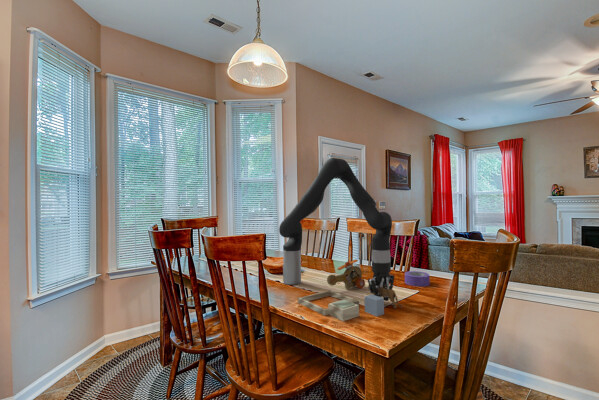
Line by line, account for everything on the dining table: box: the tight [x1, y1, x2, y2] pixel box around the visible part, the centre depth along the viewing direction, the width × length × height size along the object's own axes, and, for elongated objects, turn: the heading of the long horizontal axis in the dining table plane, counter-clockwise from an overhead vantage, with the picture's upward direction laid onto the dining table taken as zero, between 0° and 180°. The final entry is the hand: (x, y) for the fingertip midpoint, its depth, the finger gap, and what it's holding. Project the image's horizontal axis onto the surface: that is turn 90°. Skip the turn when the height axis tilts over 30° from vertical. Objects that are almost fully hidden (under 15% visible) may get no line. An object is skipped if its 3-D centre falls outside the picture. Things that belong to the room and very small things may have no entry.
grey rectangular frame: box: [297, 290, 360, 322], centre depth 121 cm, size 26×18×4 cm
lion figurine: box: [367, 285, 404, 309], centre depth 123 cm, size 15×5×9 cm, turn 50°
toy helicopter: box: [326, 259, 366, 290], centre depth 145 cm, size 8×21×14 cm, turn 122°
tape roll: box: [404, 270, 430, 288], centre depth 153 cm, size 12×12×5 cm
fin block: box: [364, 293, 385, 317], centre depth 114 cm, size 6×4×6 cm, turn 34°
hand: (381, 301), depth 124 cm, fingers closed on lion figurine, 4 cm apart
